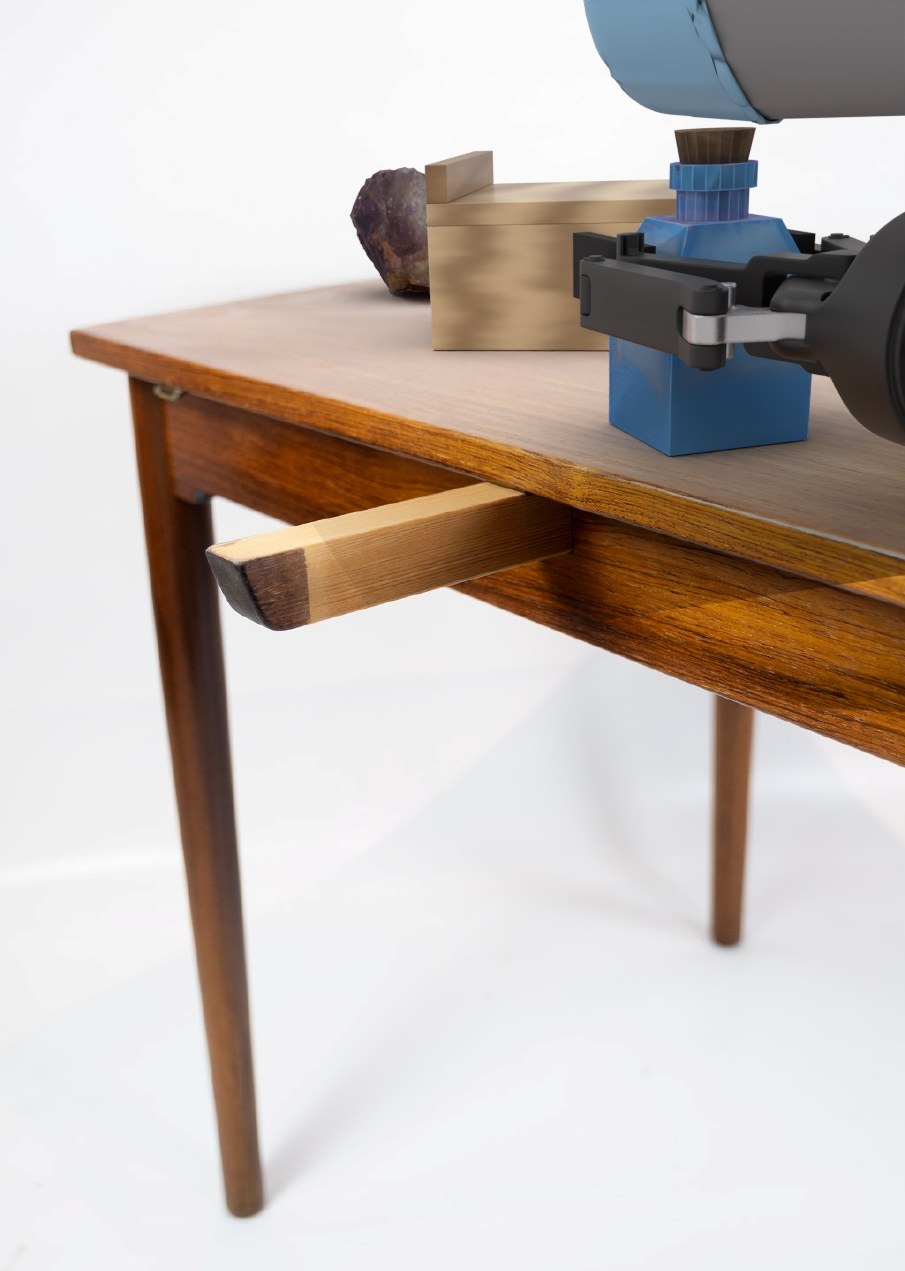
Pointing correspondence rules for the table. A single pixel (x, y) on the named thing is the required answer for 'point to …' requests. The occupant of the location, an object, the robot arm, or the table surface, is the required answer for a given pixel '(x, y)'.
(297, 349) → the table surface
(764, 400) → the perfume bottle
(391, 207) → the rock
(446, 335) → the wooden box with backstop
